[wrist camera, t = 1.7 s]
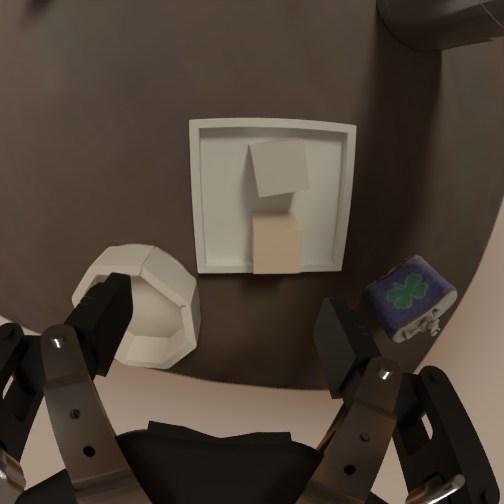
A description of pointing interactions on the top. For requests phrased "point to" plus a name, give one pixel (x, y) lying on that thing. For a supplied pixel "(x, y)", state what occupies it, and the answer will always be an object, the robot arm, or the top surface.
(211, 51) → the top surface
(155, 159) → the top surface
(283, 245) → the cream wooden brick
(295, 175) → the pebble grey
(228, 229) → the tray
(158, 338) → the bowl
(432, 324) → the flask
